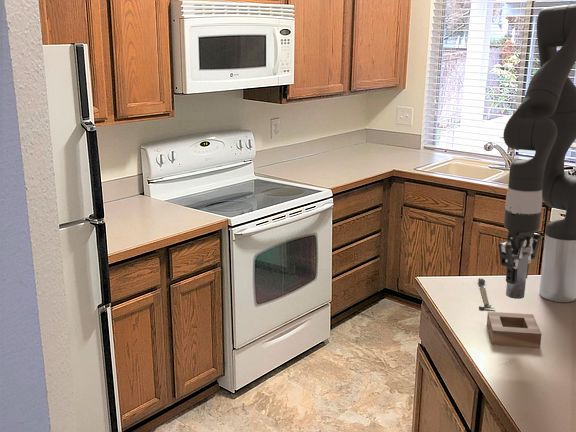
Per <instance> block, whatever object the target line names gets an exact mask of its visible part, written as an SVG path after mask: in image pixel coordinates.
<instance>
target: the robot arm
mask: <svg viewBox="0 0 576 432" xmlns="http://www.w3.org/2000/svg"><path fill="white" fill-rule="evenodd" d="M536 20H537V21H536V38H537V39H536V40H537V48H538V56H539V58H538V59H539V64H540V65H539V66H540V67H539V68H538V70H536V72H534V75H532V77H531V79H530V81H529V83H528V87H527V90H526V93H525V95H524V98H523V99H522V101H521V103H520V105H519V106H518V108H516V110H515V111H514V112H513V114H512V115H511V116H510V118H509V119H508V121H507V122H506V125H505V126H504V130H503V134H502V135H503V141H504V143H505V145H506V146H507V147H508V148H509V149H512V150H520V151H533V152H535V153H534V156H533V157H532V158H530V159H529V158H527V159H519V160H515V161H513V162H512V163H511V164H510V166H509V174H508V175H509V176H508V185H507V186H508V187H507V192H506V196H505V209H504V217H503V218H504V220H503V226H504V228H505V229H506V230H507V231H508V233H507V236H506V240H505V242H499V243H498V253H499V261H500V266H501V267H506V274H505V282H506V284H507V283H510V284H515V283H516V280H517V267H518V263H519V259H521V258H522V255H523V254H522V249H524V247H526V246H528V247H530V246H531V252H530V253H529V255H528V265H527V274H526V280H527V279H528V275H529V264H531V262H532V260H536V256H537V252H538V249H539V245H540V242H541V238H542V234H540V233H536V232H538V231H539V229H540V226H541V217H542V206H543V203H544V204H545V205H546V206H547V207H549V208H553V209H555V210H561V211H565V216H564V218H563V219H557V220H552V221H549V222H547V223H546V225H545V231H544V243H543V254H542V263H541V274H540V283H539V284H540V285H539V291H538V292H539V293H538V294H539V296H540V297H542V298H543V299H545V300H547V301H551V302H557V303H571V302H574V301H576V175H573V174H566V172H565V159H566V155H567V153H568V150H570V148H571V146H572V145H573V143H574V142H575V141H576V84H574V82H573V81H572V79H571V78H570V77H569V74H570V73H571V71H572V69H573V67H574V66H575V64H576V3H573V4H564V5H555V6H547V7H543V8H542V9H541V10H540V11H539V13H538V15H537V19H536ZM559 47H560V48H559ZM557 48H559V50H557ZM512 251H514V252H518V254H517V255H515V254H512ZM513 258H514V263H513Z"/></svg>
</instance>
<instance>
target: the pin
mask: <svg viewBox="0 0 576 432" xmlns="http://www.w3.org/2000/svg"><path fill="white" fill-rule="evenodd" d="M530 252H531V246H530V247H528V246H526V247H524V249H522V254H523V255H522V258H521V259H519V263H518V267H517V280H516V283H515V284H510V283H507V282H506V290H505V296H506V297H508V298H511V299H515V300H520V299H524V298H525V291H526V281H527V279H526V274H527V265H528V255H529V253H530ZM512 254H515V255H517V254H518V252H514V251H512ZM513 263H514V258H513Z"/></svg>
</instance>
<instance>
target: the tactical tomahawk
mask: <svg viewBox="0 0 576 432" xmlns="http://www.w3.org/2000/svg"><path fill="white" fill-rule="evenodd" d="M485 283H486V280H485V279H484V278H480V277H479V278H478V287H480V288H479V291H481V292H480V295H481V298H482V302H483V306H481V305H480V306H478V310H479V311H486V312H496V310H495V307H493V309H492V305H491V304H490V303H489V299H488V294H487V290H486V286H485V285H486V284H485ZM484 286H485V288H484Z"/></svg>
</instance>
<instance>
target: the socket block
mask: <svg viewBox="0 0 576 432" xmlns="http://www.w3.org/2000/svg"><path fill="white" fill-rule="evenodd" d="M486 315H487V316H486V317H487V318H486V327H487V331H488V334H489V338H490V343H491V345H492V346H508V347H519V346H522V347H521V348H523V347H524V348H534V349H536V348H537V349H540V348H541V341H542V334H543V333H542V331H541V330H540V326H539V325H538V323H537V320H536V318H535V316H534V314H532V313H519V312H518V313H515V312H499V311H487V314H486Z"/></svg>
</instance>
